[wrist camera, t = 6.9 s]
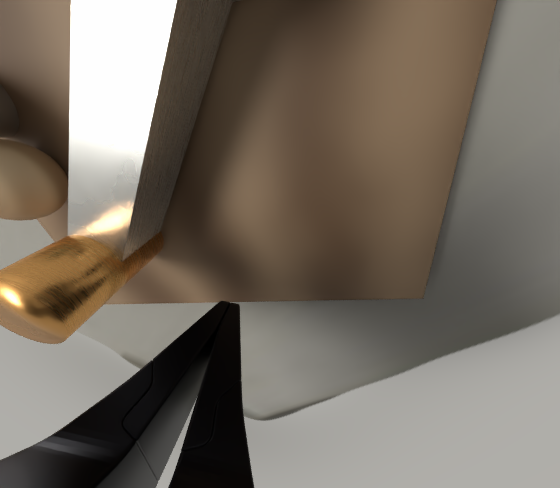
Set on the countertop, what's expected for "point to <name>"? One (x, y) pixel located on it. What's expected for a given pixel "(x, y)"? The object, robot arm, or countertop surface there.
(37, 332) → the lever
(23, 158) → the dough ball
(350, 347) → the countertop surface
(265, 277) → the board
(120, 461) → the robot arm
